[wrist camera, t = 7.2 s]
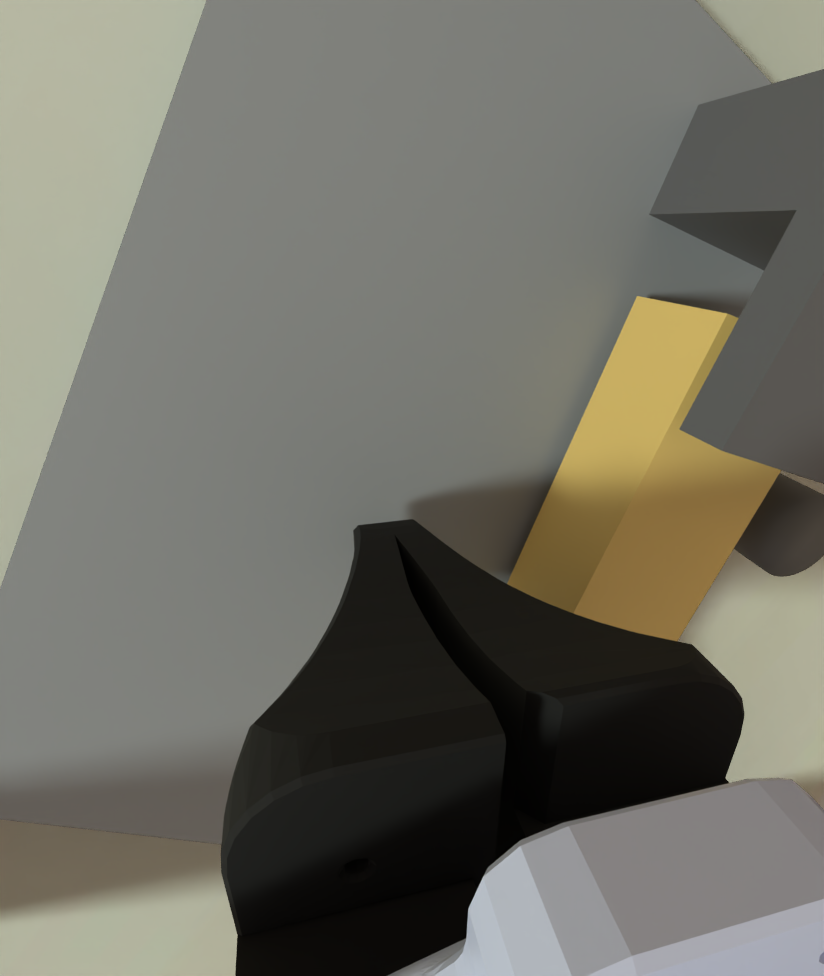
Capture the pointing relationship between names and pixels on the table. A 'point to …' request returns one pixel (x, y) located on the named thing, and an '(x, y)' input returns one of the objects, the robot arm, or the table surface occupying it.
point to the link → (643, 485)
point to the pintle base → (385, 350)
